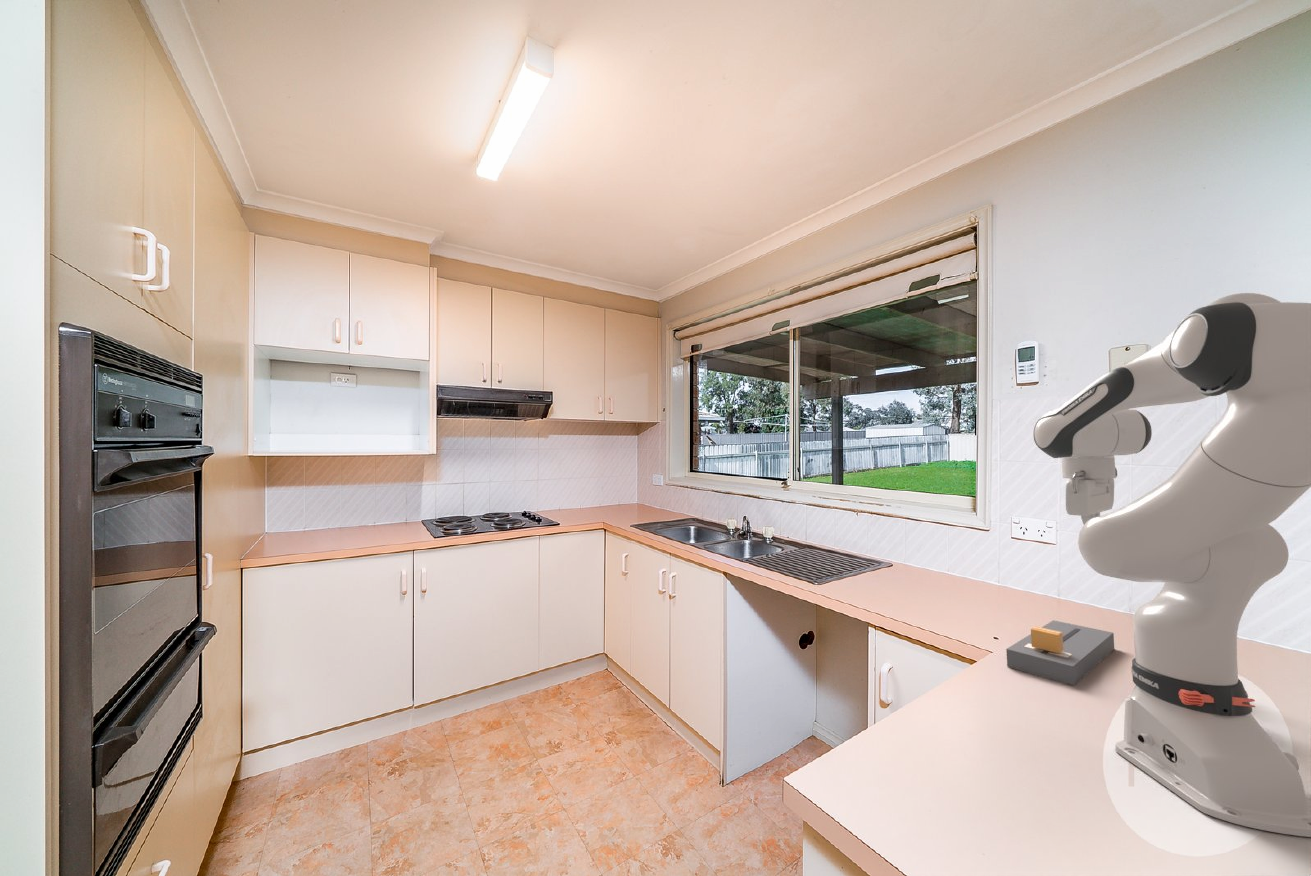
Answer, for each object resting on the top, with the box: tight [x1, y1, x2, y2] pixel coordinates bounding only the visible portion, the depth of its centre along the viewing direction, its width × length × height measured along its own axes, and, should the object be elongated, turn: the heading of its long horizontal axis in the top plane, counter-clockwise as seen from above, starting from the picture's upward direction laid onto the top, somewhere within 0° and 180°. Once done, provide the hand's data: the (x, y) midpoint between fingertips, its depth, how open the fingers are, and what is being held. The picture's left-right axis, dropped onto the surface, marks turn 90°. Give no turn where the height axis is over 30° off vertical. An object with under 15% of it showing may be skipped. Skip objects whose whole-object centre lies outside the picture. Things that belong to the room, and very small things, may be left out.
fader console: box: [1005, 619, 1115, 687], centre depth 116 cm, size 32×12×4 cm, turn 125°
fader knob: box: [1030, 625, 1063, 653], centre depth 110 cm, size 3×5×4 cm, turn 35°
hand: (1091, 533), depth 107 cm, fingers closed
